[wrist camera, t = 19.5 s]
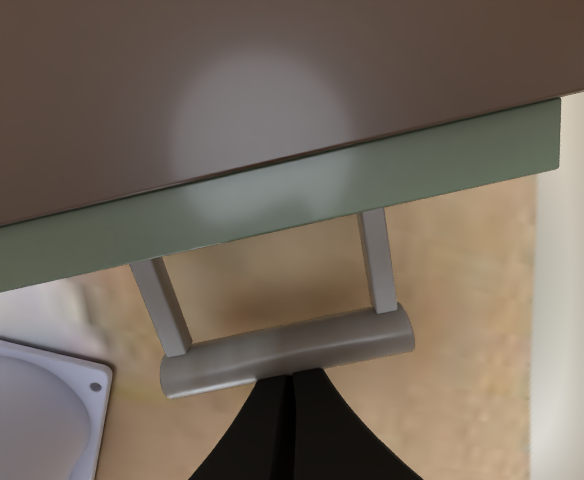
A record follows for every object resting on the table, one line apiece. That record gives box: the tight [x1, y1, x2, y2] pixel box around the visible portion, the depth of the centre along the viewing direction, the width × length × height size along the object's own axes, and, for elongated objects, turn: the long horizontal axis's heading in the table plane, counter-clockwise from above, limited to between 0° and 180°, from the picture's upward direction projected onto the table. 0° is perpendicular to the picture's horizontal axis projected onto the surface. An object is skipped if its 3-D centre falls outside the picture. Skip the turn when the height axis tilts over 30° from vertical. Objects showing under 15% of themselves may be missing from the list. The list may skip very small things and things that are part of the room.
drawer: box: [0, 97, 561, 399], centre depth 7 cm, size 17×12×6 cm
